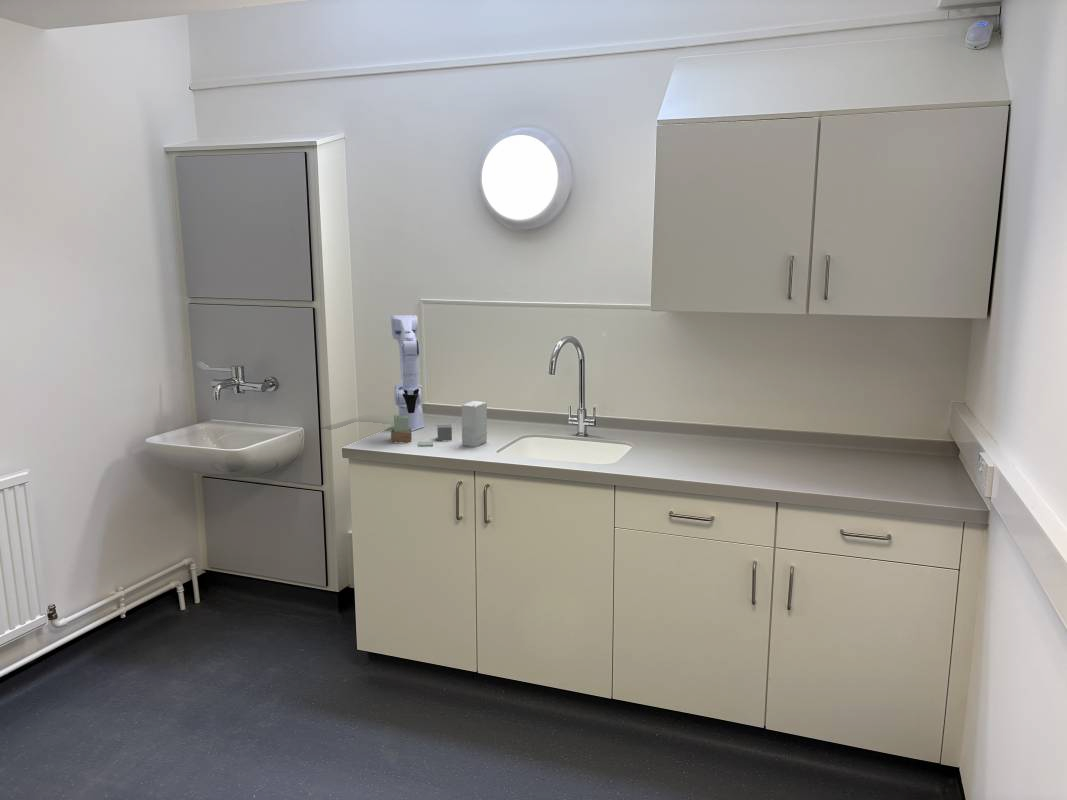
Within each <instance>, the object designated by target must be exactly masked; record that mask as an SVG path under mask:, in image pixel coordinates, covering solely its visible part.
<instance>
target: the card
mask: <svg viewBox="0 0 1067 800" xmlns="http://www.w3.org/2000/svg"><path fill="white" fill-rule="evenodd" d="M419 446H420V447H433V446H434V441H433V440H432V441H418V447H419Z"/></svg>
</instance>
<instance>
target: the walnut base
mask: <svg viewBox="0 0 1067 800" xmlns="http://www.w3.org/2000/svg"><path fill="white" fill-rule="evenodd" d="M408 431H409V432H394V428H391V432H390V443H391V444H396V443H395V442H411V443H412V438H413V437H412V431H411V428H408Z"/></svg>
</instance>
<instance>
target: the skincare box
mask: <svg viewBox="0 0 1067 800" xmlns="http://www.w3.org/2000/svg"><path fill="white" fill-rule="evenodd" d="M487 412H488V409H487V402H486V401H485V402H484V401H479V400H472V401H469V402H467V403H464V404H461V445H462V446H466V447H467V446H468V447H472V448H476V447H479V446H480V445H482V444H485V443H487V440H488V437H487V436H488V434H487V433H488V430H487V427H488V424H487V421H488V420H487V417H488V414H487Z"/></svg>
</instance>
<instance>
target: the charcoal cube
mask: <svg viewBox="0 0 1067 800" xmlns="http://www.w3.org/2000/svg"><path fill="white" fill-rule="evenodd" d="M436 425H437V426H436V427H437V430H436V431H437V442H442V441H441V440H452V441H453V431H452V430H453V429H452V428H453V427H452V424H451V423H449V424H436Z"/></svg>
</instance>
